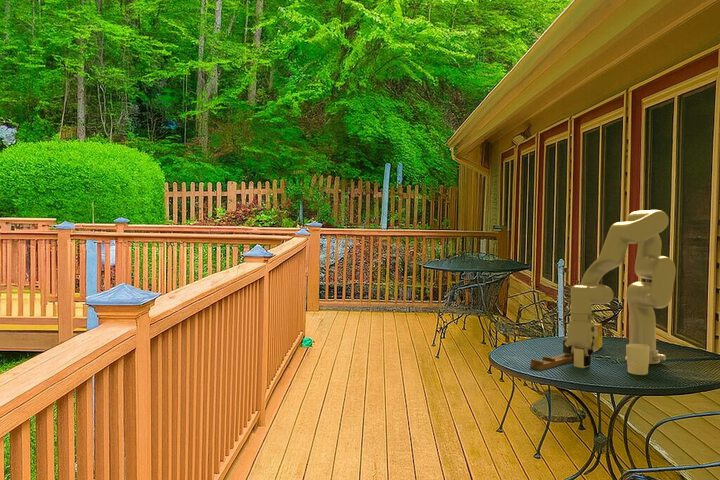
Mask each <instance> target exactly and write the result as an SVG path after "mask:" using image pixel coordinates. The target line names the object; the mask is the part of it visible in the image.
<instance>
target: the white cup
mask: <svg viewBox="0 0 720 480" xmlns="http://www.w3.org/2000/svg"><path fill="white" fill-rule="evenodd" d="M625 350H626V351H625V353H626V355H625V357H626V356H627V361H626V365H627V373H629V374H630V375H636V376H638V375H639V376H645V375H649V374H648V373H649V365H650V364H649V350H650V347H649V346H648V345H643V344H629V343H627V344H626V345H625Z"/></svg>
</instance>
